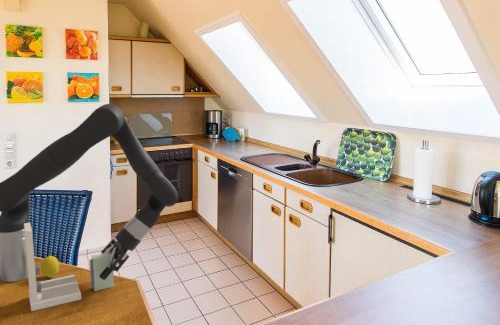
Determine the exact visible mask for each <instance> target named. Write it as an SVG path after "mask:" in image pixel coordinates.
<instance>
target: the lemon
mask: <svg viewBox="0 0 500 325" xmlns="http://www.w3.org/2000/svg"><path fill="white" fill-rule="evenodd" d="M59 270H60V263H59V260H58V258H57V257H55V256H53V255H48V256H46V257H44V258H43V259H42V261H41V263H40V272H41V274H42V275H43V276H45V277H47V278H50V279H53V277H55V276H56V275H57V274H58V272H59Z"/></svg>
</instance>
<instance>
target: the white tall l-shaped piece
mask: <svg viewBox="0 0 500 325" xmlns="http://www.w3.org/2000/svg"><path fill="white" fill-rule="evenodd" d="M24 229H25V242H26V254H27V266H28V278H27V279H28V288H29V291H28V298H29V305H30V311H31V312H35V311H38V310H43V309H46V308H51V307H55V306H58V305H59V306H60V305H63V304H67V303H72V302H76V301H80V300H82V292H81V290H80V288H79V282H78V280H76V274H71V275H67V276H62V277H58V278H57V277H56V278H50V279H48V280H38V281H37V276H39V275H41V266H40V264H39V263H37V264H36V263H35V261H36V260H35V251H34V250H35V249H34V238H33V237H34V235H33V228H32V225H31V222H28V223H24Z"/></svg>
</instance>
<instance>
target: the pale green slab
mask: <svg viewBox="0 0 500 325" xmlns="http://www.w3.org/2000/svg"><path fill="white" fill-rule="evenodd" d="M111 255H112V254H111V253H105V254H102V253H101V254H95V255H91V259H89V275H90V287H91V288H92V289H93V290H94V292H97V291H101V290H106V289H109V288H114V287H115V278H114V271H112V272H111V273H110V275H109V276H108V277H107V278H106V279H105V280H103V279H101V278H100V277H99V275H100V274H101V273H102V272H103V270H104V269H105V268H106V267H108V264H109V262H110V260H109V259H110V257H111ZM112 264H113V263H112Z"/></svg>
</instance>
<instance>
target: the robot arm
mask: <svg viewBox="0 0 500 325" xmlns="http://www.w3.org/2000/svg"><path fill="white" fill-rule="evenodd" d="M109 137H112V138H113V139H114V140H115V141H116V142H117V143H118V145H119V147H120V148H121V149H122V151H123V154H124V155H125V157H126V160H127V161H128V164H129V165H130V167H131V168H132V170H133V172H134V173H135V174H136V176H137V177H138V178H139V180H140V181H141V182H142V183H143V185H145V186H146V187H147V188H148V189H149V190H150V191H151V194H150V195H149V197H148V198H147V200H146V202H144V204H143V206H142V207H141V208H140V209H139V210H138V211H137V212H136V213H135V214H134V216H133V217H132V218H130V219H129V220H128V221H127V222H126V224H125V225H124V226H123V227H122V228H121V229H120V230H119V231H118V232H117V234H116V235H115V236H114V238H112V239H111V241H110V242H108V243H107V244H106V245H105V247H104V248H103V249H102V250H101V254H105V253H111V254H112V255H111V257H110V259H109V260H110V262H109V264H108V267H106V268H105V269H104V270H103V272H102V273H101V274H100V275H99V277H100V278H101V279H103V280H105V279H106V278H107V277H108V276H109V275H110V273H111V272H112V271H113V272H116V273H117V272H118V271H119V270H120V269H121V267H122V266H123V265H124V264H125V262H127V260H128V259H129V258H130V255H128V253H127V252H129V251H131V252H133V251H134V250H135V249H136V248H137V247H138V245H139V244H140V243H141V242H142V241H143V240H144V238H146V236H147V234H148V233H149V232H150V230H151V229H152V228H153V227H154V226H155V225H156V224H157V222H158V221H159V219H160V217H161V213H162V212H163V211H164V210H165V208H166V207H167V208H168V207H169V208H170V207H173V206H175V205H176V204H177V202H178V200H179V193H178V190H177V189H176V187H175V186H174V185H173V184H172V183H171V182H170V180H169V179H168V178H167V177H166V176H165V175H164V174H163V172H162V171H161V169H160V168H159V167H158V165H157V164H156V162H155V161H154V160H153V159H152V157H151V156H150V155H149V153H148V152H147V150H146V149H145V148H144V147H143V145H142V144H141V142H140V140H139V139H138V138H137V136H136V135H135V133H134V131H133V129H132V128H131V126H130V123H129V122H128V119H127V118H126V116H125V114H124V112H123V111H122V109H121V107H119V106H117V105H116V104H112V103H107V104H103V105H100V106H99V107H97V108H96V109H95V110H93V112H92V113H91V114H90V115H89V116H88V117H87V118H86V119H84V120H83V121H82V123H80V124H79V125H78V126H77V127H76V128H75V129H74V130H71V132H68V133H66V134H64V135H63V136H61V137H60V138H58V139H56V140H54V141H53V142H51V143H50V144H49V145H47V146H46V147H45V148H43V150H41V151H40V152H39V153H37V155H35V156H34V157H32V158H31V159H30V160H29V161H28V162H27V163H26V164H24V165H23V166H22V167H21V168H20V169H19V170H18V171H16V172H15V173H14V174H12V175H10V176H9V177H8V178H5V179H4V180H3V181H1V182H0V281H2V282H5V283H12V282H13V283H15V282H19V281H23V280H25V279H29V278H28V266H27V254H26V242H25V229H24V223H29V220H30V215H31V212H30V211H31V210H30V207H31V206H30V194H29V193H31V192H32V191H34V190H35V189H38V187H40V186H43V185H44V184H46V183H47V182H50V181H52V180H53V179H55V178H56V177H58V176H59V175H61V174H63V173H65V172H66V171H67V170H68V169H69V168H71V167H72V166H73V165H75V164H76V163H77V162H78V161H79V160H80V159H81V158H82V157H83V156H84V155H85V154H86V153H87V152H88V151H89V150H90V149H92V148H93V147H94V146H96V145H97V144H99V143H101V142H102V141H105V140H106V139H107V138H109ZM112 263H113V264H112Z"/></svg>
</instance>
